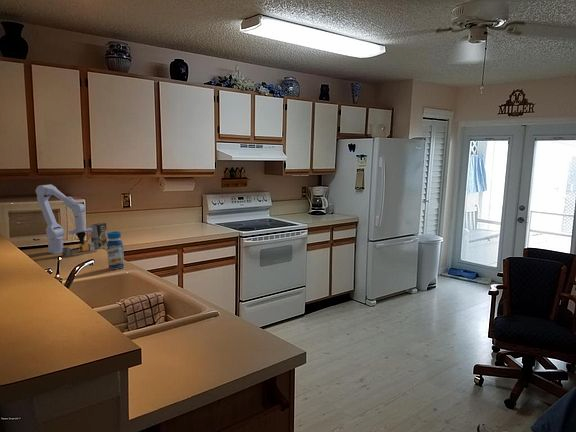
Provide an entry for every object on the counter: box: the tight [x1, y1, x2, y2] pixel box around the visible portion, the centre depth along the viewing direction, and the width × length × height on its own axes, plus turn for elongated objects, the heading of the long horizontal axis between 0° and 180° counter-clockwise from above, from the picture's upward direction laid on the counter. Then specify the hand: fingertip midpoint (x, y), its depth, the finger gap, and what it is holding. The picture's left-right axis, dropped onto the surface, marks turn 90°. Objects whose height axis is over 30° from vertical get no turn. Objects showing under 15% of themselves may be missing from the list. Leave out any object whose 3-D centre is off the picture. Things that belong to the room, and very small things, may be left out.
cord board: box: [61, 241, 98, 258], centre depth 275 cm, size 9×18×6 cm, turn 142°
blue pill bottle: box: [106, 230, 125, 270], centre depth 237 cm, size 8×8×20 cm
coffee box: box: [89, 222, 108, 250], centre depth 292 cm, size 9×6×16 cm
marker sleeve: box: [78, 239, 89, 251], centre depth 277 cm, size 4×4×7 cm
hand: (81, 243), depth 276 cm, fingers closed
